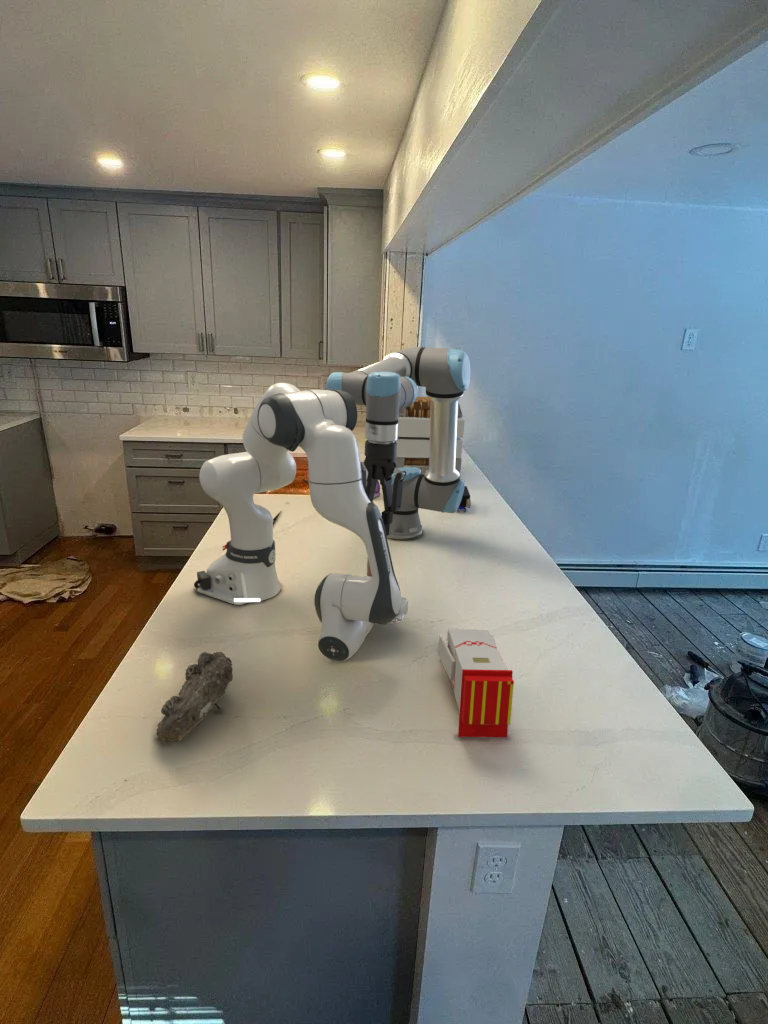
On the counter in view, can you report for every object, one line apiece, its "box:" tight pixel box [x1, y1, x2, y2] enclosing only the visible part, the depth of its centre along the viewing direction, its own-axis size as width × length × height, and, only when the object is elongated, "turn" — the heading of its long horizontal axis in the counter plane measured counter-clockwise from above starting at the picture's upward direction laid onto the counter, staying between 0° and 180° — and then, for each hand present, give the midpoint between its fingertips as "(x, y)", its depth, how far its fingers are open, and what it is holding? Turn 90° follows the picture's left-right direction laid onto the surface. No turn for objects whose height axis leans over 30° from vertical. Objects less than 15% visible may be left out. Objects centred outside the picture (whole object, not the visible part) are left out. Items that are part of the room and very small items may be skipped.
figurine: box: [366, 469, 381, 499], centre depth 236 cm, size 9×10×15 cm
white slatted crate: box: [395, 395, 465, 480], centre depth 268 cm, size 34×33×41 cm
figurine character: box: [456, 485, 472, 513], centre depth 228 cm, size 7×8×15 cm
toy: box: [437, 628, 515, 738], centre depth 117 cm, size 12×13×30 cm
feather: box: [273, 510, 282, 526], centre depth 212 cm, size 2×28×2 cm
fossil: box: [155, 651, 234, 743], centre depth 109 cm, size 22×10×15 cm
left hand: (375, 588), depth 146 cm, fingers closed on bottle, 4 cm apart
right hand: (377, 533), depth 140 cm, fingers closed on cap, 4 cm apart
